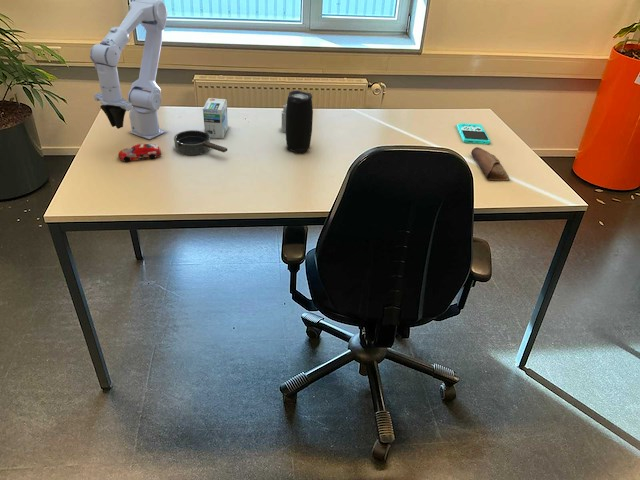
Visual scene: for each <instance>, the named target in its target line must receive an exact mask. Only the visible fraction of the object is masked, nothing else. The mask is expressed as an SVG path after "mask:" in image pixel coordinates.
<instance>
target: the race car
mask: <svg viewBox="0 0 640 480" xmlns="http://www.w3.org/2000/svg"><path fill="white" fill-rule="evenodd" d="M161 155H162V150H161V148H160V146H159V145H158V144H152V143H138V144H135V145H132V147H128V148H123V149H121V150H120V151H119V152H118V155H117V157H118V159H119V160H120V161H124V162H125V163H129V162H130V161H139V160H149V159H150V160H154V159H155V158H159V157H161Z"/></svg>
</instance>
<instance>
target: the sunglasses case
mask: <svg viewBox="0 0 640 480" xmlns="http://www.w3.org/2000/svg"><path fill="white" fill-rule="evenodd" d="M470 154H471V156H472V157H473V158H474V160H475V161H476V163H477V164H478V166H479V167H480V169H481V171H482V172H483V174H484V175H485V177H486V178H487V180H489V181H494V182H504V181H509V180H510V176H509V175H508V173H507V171H506V169H505V168H504V166H503V165H502V164H501V161H500V160H499V159H498V158H497V157H496V156H495V155H494V154H492V153H490V152H489V151H487V150H485V149H483V148H481V147H478V146H477V147H476V146H475V147H474V148H473V149H472V150H471V152H470Z"/></svg>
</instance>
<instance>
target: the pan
mask: <svg viewBox="0 0 640 480" xmlns="http://www.w3.org/2000/svg"><path fill="white" fill-rule="evenodd" d="M173 141H174V149H175V151H176V152H177V153H179V154H181V155H183V156H184V155H185V156H199V155H203V154H205V153H207V152H208V151H209V150H210V149H211V148H209V147H206V146H204V143H206V142H210V143H211V138H210V136H209V135H208V134H207V133H205V131H202V130H195V129H192V130H191V129H190V130H184V131H180V132H178V133H176V134H175V135H174V137H173Z"/></svg>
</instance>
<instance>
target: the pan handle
mask: <svg viewBox="0 0 640 480" xmlns="http://www.w3.org/2000/svg"><path fill="white" fill-rule="evenodd" d="M204 146H206V147H209V148H210V149H212V150H215V151H217V152H221V153H226V152H227V151H228V147H225V146H222V145H219V144H216V143H213V142H211V141H210V142H206V143H204Z"/></svg>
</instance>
